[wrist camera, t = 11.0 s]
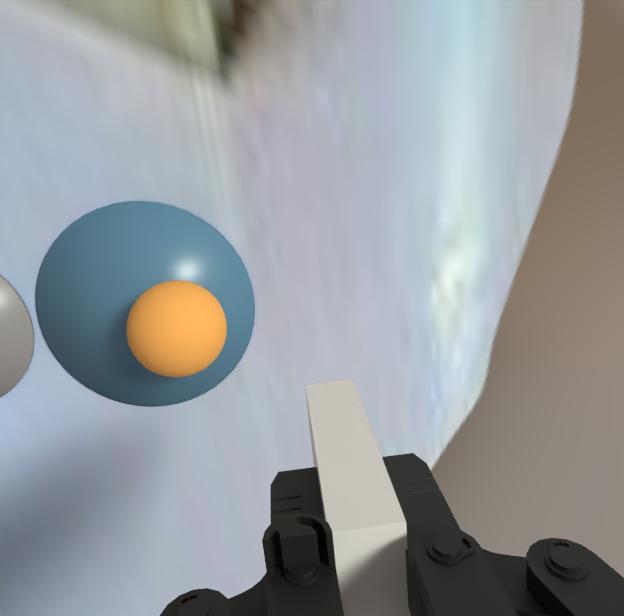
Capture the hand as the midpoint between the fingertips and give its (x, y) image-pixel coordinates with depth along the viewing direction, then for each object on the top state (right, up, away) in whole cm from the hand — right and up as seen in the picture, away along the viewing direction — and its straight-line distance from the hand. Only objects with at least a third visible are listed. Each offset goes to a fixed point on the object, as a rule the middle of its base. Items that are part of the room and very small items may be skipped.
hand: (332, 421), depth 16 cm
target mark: (-11, +4, +15) cm, 19 cm away
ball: (-8, +2, +13) cm, 16 cm away
